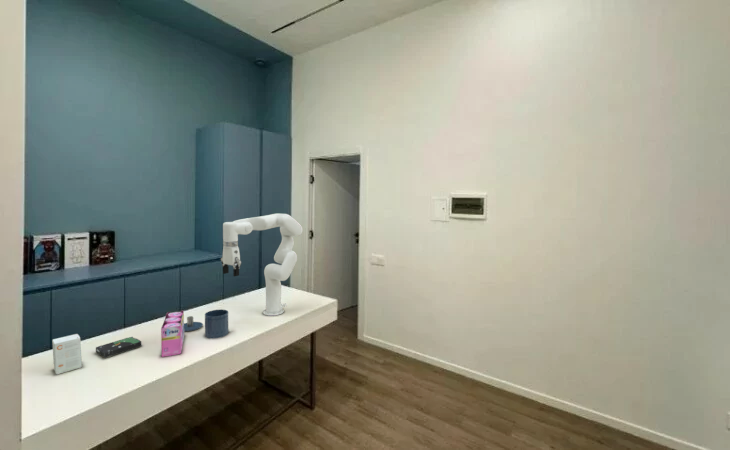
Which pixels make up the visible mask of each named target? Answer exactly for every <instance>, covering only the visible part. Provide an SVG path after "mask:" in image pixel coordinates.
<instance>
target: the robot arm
mask: <svg viewBox="0 0 730 450" xmlns="http://www.w3.org/2000/svg"><path fill="white" fill-rule="evenodd" d="M274 228H275V229H276V228H279V232H280V235H281V242H280V244H279V246H278V248H277V249H276V251H275V254H274V256H273V261H274V262H275V263H269V264H267V265H266V266H265V267H264V270H263V274H264V280H265V309H264V310H263V312H262V313H263V315H264V316H269V317H270V316H272V317H274V316H279V315H282V314H283V313H284V308H285V307H287V303H282V282H285V281H287V280H288V279H289V278H290V276H291V274H292V272H293V270H294V269H295V266H296V264H297V262H298V254H297V253H296V251H294V250H293V249H294V246H295V242H294V241H295V239H294V237H296V238H297V237H300V236H301V235H302V234H303V231H304V229H303V226H302V225H301V224H300V223H299V222H298V220H296V219H295V218H294V217H293V216H291V215H290V214H288V213H281V212H280V213H279V212H278V213H271V214H265V215H261V216H253V217H247V218H241V219H236V220H233V221H225V222H223V223H222V239H223V240H222V248H223V249H222V257H221V258H220V262H221V267H222V274H223V275H225V274H229V273H230V271H229V266H232V267H233V270H232V271H233V277H238V276H240V269H241V265H242V260H241V253H240V247H239V235H245V236H246V235H249V234H251V233H252V232H253V231H265V230H270V229H274Z"/></svg>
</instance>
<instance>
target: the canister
mask: <svg viewBox="0 0 730 450" xmlns="http://www.w3.org/2000/svg"><path fill="white" fill-rule="evenodd" d="M227 335H229V311H228V310H226V309H222V308H221V309H213V310H208V311H207V312H205V313H204V337H205V338H207V339H220V338H223V337H225V336H227Z"/></svg>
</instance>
